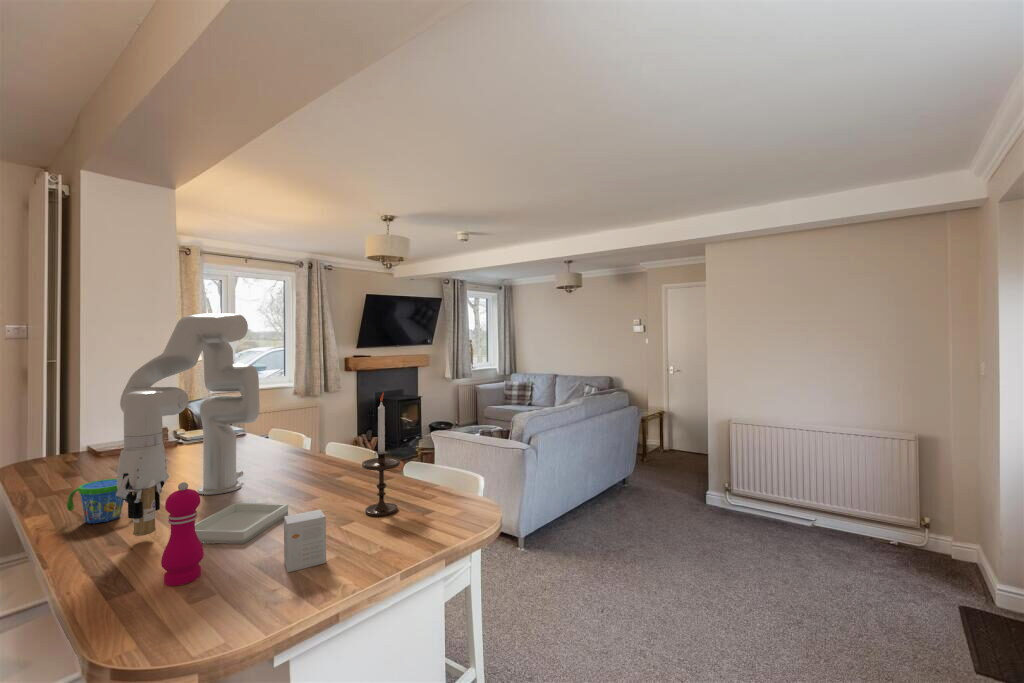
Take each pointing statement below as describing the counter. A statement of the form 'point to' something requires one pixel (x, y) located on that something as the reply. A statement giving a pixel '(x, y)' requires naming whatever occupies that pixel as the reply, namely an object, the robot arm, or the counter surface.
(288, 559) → the small box
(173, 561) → the pepper mill
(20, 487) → the counter surface
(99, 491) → the snack cup
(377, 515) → the candlestick
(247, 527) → the tray
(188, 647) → the counter surface
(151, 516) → the sprinkles bottle
